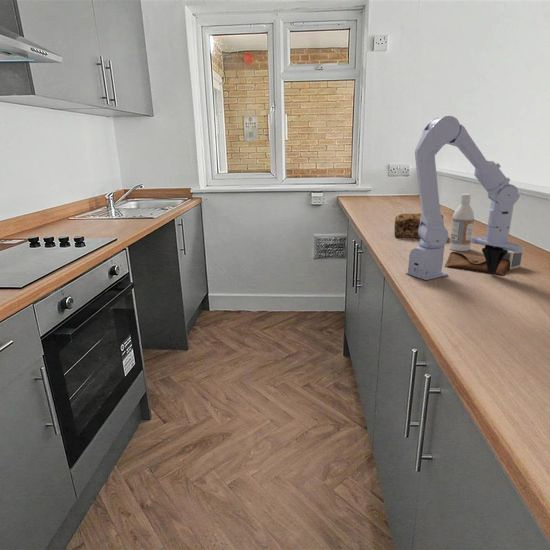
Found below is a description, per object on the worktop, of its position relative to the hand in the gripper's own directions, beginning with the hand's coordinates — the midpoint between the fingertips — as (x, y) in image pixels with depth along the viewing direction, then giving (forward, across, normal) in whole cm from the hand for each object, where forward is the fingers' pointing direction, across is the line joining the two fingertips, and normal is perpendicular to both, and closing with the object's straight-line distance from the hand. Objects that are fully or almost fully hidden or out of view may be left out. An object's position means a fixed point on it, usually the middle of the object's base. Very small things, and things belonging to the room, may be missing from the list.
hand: (491, 271), depth 120 cm
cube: (+1, +3, -12) cm, 13 cm away
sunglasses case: (+2, +7, -2) cm, 7 cm away
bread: (+1, +48, -22) cm, 53 cm away
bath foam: (+1, +25, -18) cm, 31 cm away
